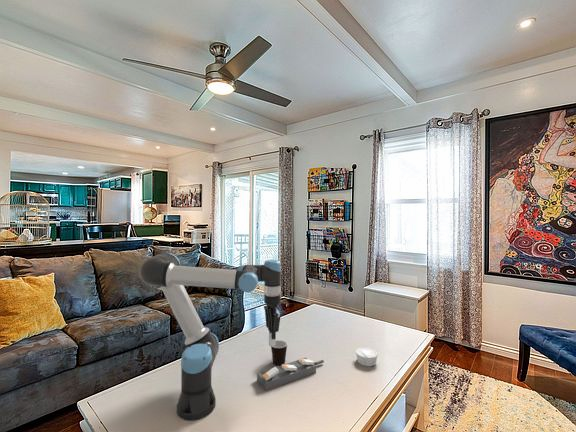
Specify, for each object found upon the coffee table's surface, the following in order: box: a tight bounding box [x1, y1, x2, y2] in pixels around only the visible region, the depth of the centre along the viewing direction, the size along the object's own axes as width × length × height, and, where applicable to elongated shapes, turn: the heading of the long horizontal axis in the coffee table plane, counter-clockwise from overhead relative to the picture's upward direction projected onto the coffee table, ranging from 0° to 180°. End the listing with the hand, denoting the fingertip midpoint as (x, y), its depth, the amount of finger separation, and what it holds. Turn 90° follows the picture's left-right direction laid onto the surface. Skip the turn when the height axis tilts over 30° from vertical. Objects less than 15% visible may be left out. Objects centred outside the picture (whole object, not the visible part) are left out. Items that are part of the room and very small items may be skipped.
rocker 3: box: [298, 358, 315, 365], centre depth 142 cm, size 7×3×1 cm, turn 122°
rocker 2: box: [281, 363, 297, 371], centre depth 136 cm, size 7×3×1 cm, turn 122°
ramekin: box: [355, 347, 379, 367], centre depth 152 cm, size 11×11×5 cm
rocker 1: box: [263, 366, 279, 381], centre depth 131 cm, size 7×3×1 cm, turn 121°
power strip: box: [256, 357, 325, 392], centre depth 140 cm, size 36×9×4 cm, turn 121°
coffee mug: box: [270, 339, 288, 367], centre depth 152 cm, size 12×9×10 cm
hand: (272, 344), depth 131 cm, fingers closed
